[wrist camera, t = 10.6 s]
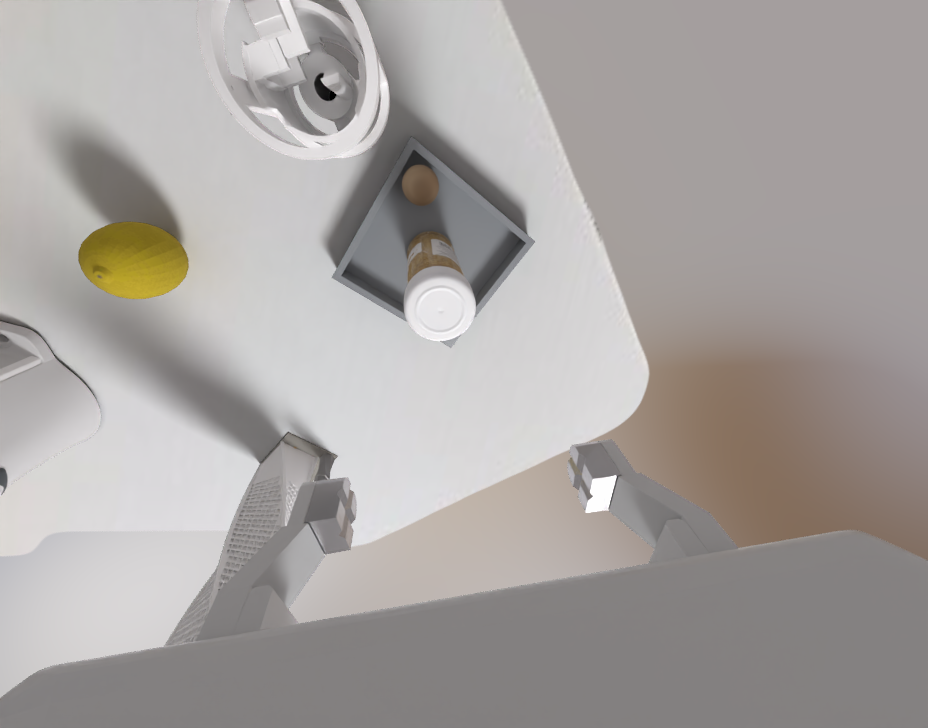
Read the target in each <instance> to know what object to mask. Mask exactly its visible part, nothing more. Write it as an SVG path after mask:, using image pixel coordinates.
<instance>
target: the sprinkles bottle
mask: <svg viewBox="0 0 928 728" xmlns="http://www.w3.org/2000/svg"><path fill="white" fill-rule="evenodd" d="M407 260H408V262H407V287H406V289H405V294H404V314H405V318H406V320H407V322H408V324H409V326H410V327H411V328H412V329H413V330H414V331H415V332H416V333H417V334H418V335H420V336H422V337H424V338H426V339H429V340H433V341H446V340H450V339H453V338H455V337H457V336H459V335H461V334H462V333H463V332H465V331H466V330H467V328H468V327H469V326H470V325H471V323H472V321H473V319H474V316H475V311H476V301H475V297H474V294H473V291H472V288H471V286H470V284H469V282H468V281H467V279H466V278H465V277H464V274H463V271H462V269H461V267H460V264H459V262H458V259H457V257H456V255H455V253H454V249H453V246H452V244H451V243H450V241H449V240H448V239H447V238H446V237H445V236H444V235H442V234H440V233H437V232H434V231H430V232H429V231H428V232H422V233H420V234H419V235H417V236H416V237H415V238H414V239H413V240H412V241H411V242H410V244H409V247H408V250H407Z"/></svg>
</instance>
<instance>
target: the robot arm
mask: <svg viewBox="0 0 928 728" xmlns="http://www.w3.org/2000/svg"><path fill="white" fill-rule="evenodd" d="M100 422H101V412H100V408H99V405H98V403H97V401H96V399H95V397H94V395H93V394H92V392H91V391H90V390H89V389H88V387H87V386H86V385H85V384H84V383H83V382H82V381H81V380H80V379H79V378H78V377H77V376H76V375H74V374H73V373H72V372H71V371H70V370H68V369H67V368H66V367H65V366H63V365H62V364H61V363H60V362H59V361H58V360H57V359H56V358H55V356H54V355H53V353H52V352H51V350H50V349H49V347H48V346H47V344H46V343H45V342H44V340H43V339H42V338H41V337H40V336H39V335H38V334H37V333H35V332H34V331H32V330H30V329H27V328H24V327H21V326H17V325H13V324H9V323H6V322H2V321H0V496H1V495H2V494H3V493H4V491H5V489H6V488H7V487H8V486H10V485H11V484H13V483H14V482H15V481H17V480H18V479H20V478H21V477H23V476H24V475H26V474H27V473H29V472H31V471H32V470H34V469H35V468H37V467H38V466H40V465H41V464H43V463H45V462H46V461H48V460H50V459H51V458H53V457H55V456H57V455H58V454H60V453H62V452H64V451H65V450H67V449H69V448H71V447H73V446H75V445H78V444H80V443H82V442H84V441H86V440H88V439H89V438H91V437H92V436H93V435H94V434H95V433H96V432H97V430H98V428H99V426H100ZM569 453H570V455H571V458H570V459H569V460H568V467H567V468H568V475H569V478H570V481H571V482H572V485H573V487H575V488H576V489H578V490H579V494H578V498H579V500H580V502H581V504H582V506H583V508H584V510H585V512H586V513H587V512H595V511H603V510H609V512H611V513H612V514H613V515H614V516H616V517H617V518H618V519H619V520H620V521H621V522H623V523H624V524H625V525H626V526H627V527H629V528H630V529H631V530H632V531H633V532H635V533H636V534H637V535H638V536H639V537H641V538H642V539H643V540H644V541H645V542H647V543H648V544H649V545H650V546H651V547H653V548H654V551H653V554H652V556H651V559H650V561H649V563H648V564H644V565H638V566H633V567H626V568H620V569H615V570H609V571H603V572H597V573H591V574H586V575H580V576H574V577H568V578H562V579H556V580H551V581H545V582H539V583H533V584H527V585H521V586H515V587H509V588H504V589H497V590H492V591H486V592H480V593H475V594H468V595H463V596H457V597H452V598H445V599H439V600H434V601H428V602H422V603H416V604H411V605H404V606H399V607H393V608H387V609H381V610H375V611H370V612H364V613H358V614H352V615H346V616H340V617H335V618H329V619H323V620H317V621H312V622H305V623H300V624H299V623H298V622H297V620H296V619H295V618H294V616H293V615H292V614H291V612H290V611H289V610H288V609H289V608H290V606H291V605H292V603H293V602H294V600H295V599H296V597H297V596H298V595H299V593H300V592H301V590H302V589H303V587H304V586H305V584H306V583H307V582H308V580H309V579H310V577H311V576H312V574H313V573H314V571H315V570H316V569H317V567H318V565H319V564H320V563H321V561H322V560H323V558H324V557H325V554H330V553H335V552H341V551H346V550H350V549H351V543H352V537H353V529H352V526H351V524H352V522H353V521H354V520H355V518H356V497H355V494H354V492H353V491H351V490H350V485H351V483H350V481H349V479H348V478H338V479H329V480H321V481H313V482H305V483H303V484H302V485H301V486H300V488H299V491H298V494H297V497H296V500H295V503H294V506H293V508H292V511H291V514H290V517H289V520H288V523H287V526H284V527H281V528H280V529H279V530H278V531H277V532H276V533H275V534H274V535H273V536H272V537H271V538H270V539H269V541H268V542H267V543H266V544H265V545H264V546H263V547H262V548H261V549H260V550H259V551H258V552H257V553H256V554H255V555H254V556H253V557H252V558H251V559H250V560H249V561H248V562H247V563H246V564H245V565H244V566H243V567H242V568H241V569H240V570H239V571H238V572H237V573H236V574H235V575H234V576H233V577H232V578H231V579H230V580H229V581H228V582H227V583H226V584H225V585H224V586H223V587H222V588H221V589H220V590H219V591H218V593H217V595H216V598H215V600H214V602H213V604H212V606H211V609H210V611H209V613H208V615H207V618H206V620H205V622H204V624H203V627H202V629H201V631H200V633H199V635H198V638H197V640H196V641H194V642H188V643H182V644H177V645H171V646H165V647H159V648H153V649H147V650H141V651H135V652H130V653H124V654H118V655H112V656H106V657H101V658H94V659H88V660H82V661H76V662H70V663H64V664H59V665H54V666H50V667H47V668H44V669H42V670H39V671H37V672H36V673H34V674H33V675H31V676H29V677H28V678H26V679H25V680H24V681H22V682H21V683H19V684H18V685H17V686H15V687H14V688H12V689H11V690H10V691H9V692H7V693H6V694H5V695H3V696H2V697H1V698H0V728H928V561H927V560H925V559H923V558H921V557H919V556H917V555H915V554H913V553H910V552H908V551H906V550H904V549H902V548H900V547H897V546H895V545H893V544H891V543H889V542H887V541H884V540H882V539H880V538H877V537H875V536H872V535H870V534H867V533H865V532H862V531H858V530H842V531H836V532H830V533H824V534H819V535H813V536H807V537H802V538H795V539H789V540H783V541H778V542H772V543H766V544H761V545H755V546H749V547H743V548H738V547H737V546H736V544H735V543H734V542H733V541H732V540H731V538H730V537H729V536H728V535H727V533H726V532H725V531H724V530H723V529H722V527H721V526H720V525H719V524H718V523H717V521H716V520H715V519H714V518H713V516H712V515H711V514H710V513H709V512H707V511H706V510H704V509H702V508H700V507H699V506H697V505H695V504H694V503H692V502H690V501H688V500H687V499H685V498H683V497H681V496H680V495H678V494H676V493H675V492H673V491H671V490H669V489H668V488H666V487H664V486H662V485H661V484H659V483H657V482H655V481H654V480H652V479H650V478H649V477H647V476H645V475H643V474H642V473H636V472H635V470H634V469H633V467H632V466H631V464H630V463H629V462H628V460H627V459H626V457H625V456H624V455H623V453H622V452H621V451H620V449H619V448H618V446H617V445H616V443H615V442H614V441H613V440H611V439H610V440H603V441H598V442H597V441H596V442H589V443H582V444H576V445H572V446H571V447H570V452H569Z"/></svg>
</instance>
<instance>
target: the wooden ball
mask: <svg viewBox="0 0 928 728" xmlns="http://www.w3.org/2000/svg"><path fill="white" fill-rule="evenodd" d="M402 189H403V192H404V195H405V196H406V198H407V199H408V200H409V201H410V202H411V203H413V204H415V205H418V206H425V205H428V204H430V203H432V202H433V201H434V200H435V198H436V196H437V194H438V191H439V182H438V179H437V176H436V174H435V173H434V172H433V170H432V169H430V168H429V167H427V166H425V165H414V166H412V167H410V168H409V169H408V170H407V171H406V172H405V174H404V176H403V179H402Z"/></svg>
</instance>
